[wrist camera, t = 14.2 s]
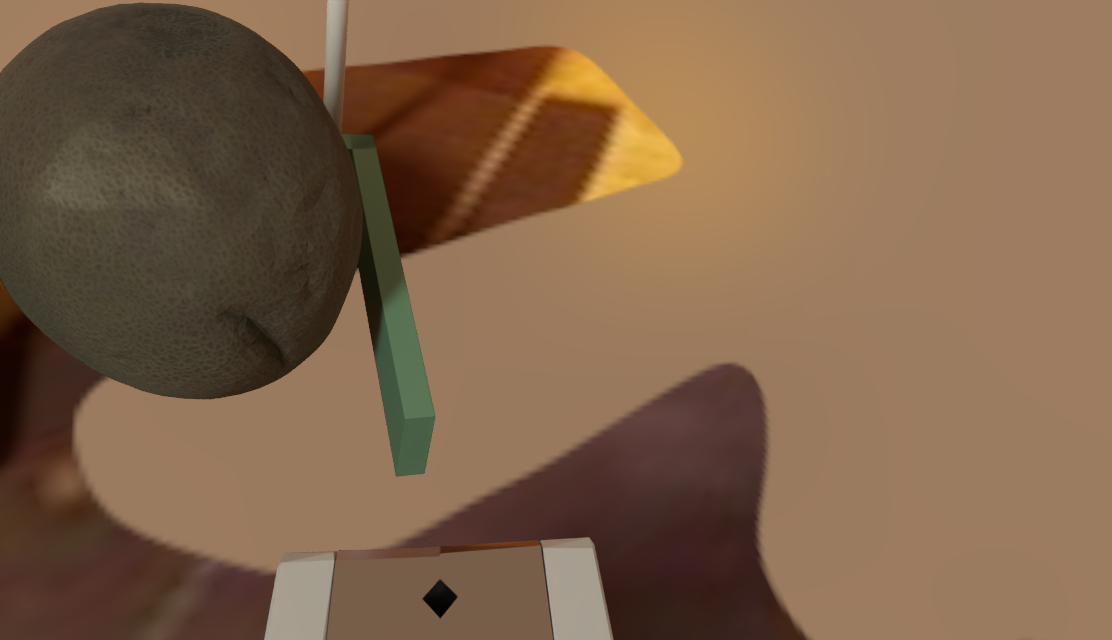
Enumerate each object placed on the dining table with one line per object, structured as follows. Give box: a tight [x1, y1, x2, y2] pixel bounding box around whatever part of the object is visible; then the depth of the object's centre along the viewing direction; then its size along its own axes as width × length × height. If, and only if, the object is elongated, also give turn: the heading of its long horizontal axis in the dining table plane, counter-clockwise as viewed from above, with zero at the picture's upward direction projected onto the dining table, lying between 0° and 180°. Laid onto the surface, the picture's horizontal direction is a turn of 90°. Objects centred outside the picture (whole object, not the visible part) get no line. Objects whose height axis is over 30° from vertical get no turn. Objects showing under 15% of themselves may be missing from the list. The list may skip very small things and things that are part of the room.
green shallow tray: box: [324, 0, 435, 476], centre depth 37 cm, size 19×22×18 cm
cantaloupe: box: [0, 3, 363, 399], centre depth 37 cm, size 14×14×15 cm
